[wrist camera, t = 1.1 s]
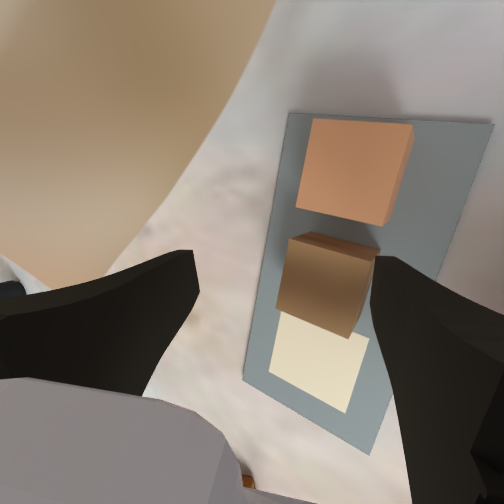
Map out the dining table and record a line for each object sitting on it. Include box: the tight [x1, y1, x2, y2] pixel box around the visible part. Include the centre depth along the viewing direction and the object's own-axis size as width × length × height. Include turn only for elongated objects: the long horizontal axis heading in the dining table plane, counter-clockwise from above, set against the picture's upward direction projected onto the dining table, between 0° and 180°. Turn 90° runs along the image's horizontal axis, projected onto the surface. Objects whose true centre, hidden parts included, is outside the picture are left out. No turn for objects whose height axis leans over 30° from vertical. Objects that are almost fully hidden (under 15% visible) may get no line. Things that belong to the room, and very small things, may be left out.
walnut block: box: [275, 231, 381, 339], centre depth 19 cm, size 5×5×4 cm
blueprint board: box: [242, 113, 495, 455], centre depth 21 cm, size 24×12×1 cm, turn 170°
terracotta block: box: [296, 118, 415, 226], centre depth 17 cm, size 5×5×4 cm
